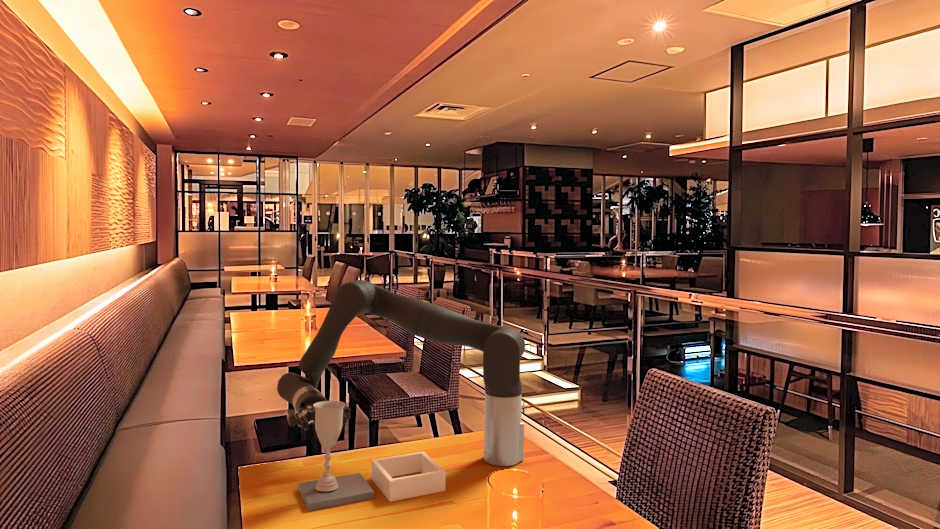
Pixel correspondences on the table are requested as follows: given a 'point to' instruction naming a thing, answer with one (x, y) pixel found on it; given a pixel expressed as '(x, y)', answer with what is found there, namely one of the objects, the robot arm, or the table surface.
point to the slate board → (336, 492)
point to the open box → (408, 485)
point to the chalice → (328, 437)
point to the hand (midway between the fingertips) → (325, 423)
